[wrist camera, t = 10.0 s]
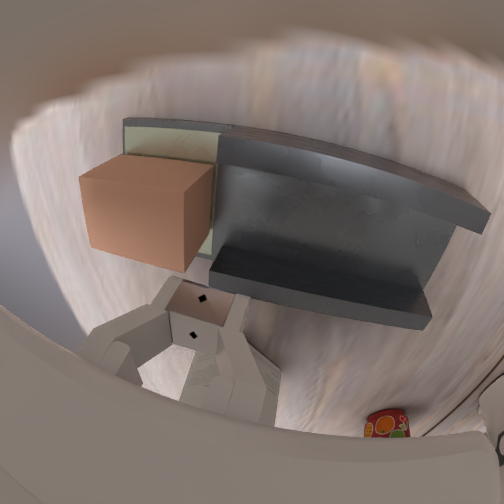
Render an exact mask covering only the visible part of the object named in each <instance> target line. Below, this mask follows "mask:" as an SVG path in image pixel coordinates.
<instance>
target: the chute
mask: <svg viewBox="0 0 504 504" xmlns="http://www.w3.org/2000/svg"><path fill="white" fill-rule="evenodd" d="M123 155H134V156H145V157H155V158H164V159H172V160H181V161H188V162H196V163H203V164H210V165H214V170H213V183H212V197H211V212H210V229H209V235H208V237H207V238H206V240H205V241H204V243H203V244H202V246H201V248H200V249H199V251H198V252H197V254H196V256H198V257H202V258H206V259H211V260H214V262H213V264H212V266H211V268H210V270H209V287H213V288H217V289H221V290H225V291H229V292H233V293H236V294H241V295H245V296H249V297H250V298H253V299H258V300H262V301H266V302H271V303H275V304H280V305H284V306H289V307H294V308H298V309H303V310H308V311H313V312H318V313H323V314H328V315H333V316H338V317H344V318H349V319H354V320H360V321H366V322H371V323H377V324H383V325H389V326H395V327H401V328H408V329H414V330H421V331H423V330H424V328H425V327H426V326H427V324H428V323H429V321H430V320H431V319H432V314H431V311H430V308H429V305H428V303H427V300H426V297H425V295H424V292H423V289H424V287H425V285H426V284H427V282H428V280H429V278H430V277H431V275H432V273H433V271H434V269H435V268H436V266H437V264H438V262H439V260H440V258H441V256H442V254H443V253H444V251H445V249H446V247H447V245H448V243H449V240H450V238H451V236H452V234H453V232H454V230H455V228H456V226H457V225H458V226H460V227H463V228H466V229H468V230H471V231H473V232H476V233H478V234H481V235H482V233H483V230H484V228H485V226H486V224H487V222H488V220H489V217H490V215H491V213H490V212H489V211H488V210H487V209H486V208H485V207H484V206H483V205H482V204H481V203H480V202H479V201H477V200H476V199H475V198H474V197H473V196H472V195H471V194H470V193H469V192H467V191H466V190H464V189H462V188H460V187H458V186H455V185H453V184H451V183H448V182H446V181H444V180H441V179H439V178H436V177H434V176H431V175H429V174H426V173H423V172H421V171H418V170H415V169H413V168H410V167H407V166H404V165H401V164H399V163H396V162H393V161H390V160H387V159H383V158H380V157H377V156H374V155H371V154H367V153H364V152H360V151H357V150H353V149H350V148H346V147H342V146H338V145H335V144H331V143H327V142H322V141H318V140H314V139H309V138H305V137H300V136H295V135H290V134H285V133H280V132H275V131H269V130H263V129H257V128H250V127H244V126H236V125H229V124H221V123H211V122H201V121H190V120H176V119H156V118H126V119H123Z"/></svg>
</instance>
